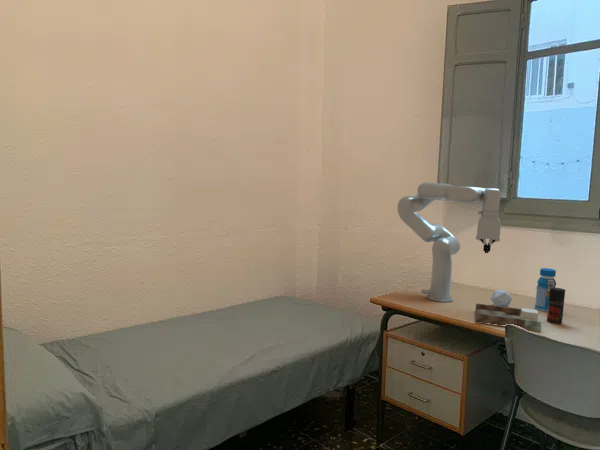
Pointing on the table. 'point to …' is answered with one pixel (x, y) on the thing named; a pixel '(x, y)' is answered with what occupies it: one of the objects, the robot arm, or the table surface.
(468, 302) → the table surface
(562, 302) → the deodorant
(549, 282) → the beverage bottle
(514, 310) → the box
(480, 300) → the table surface
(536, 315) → the pale blue block
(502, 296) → the die
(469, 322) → the table surface
